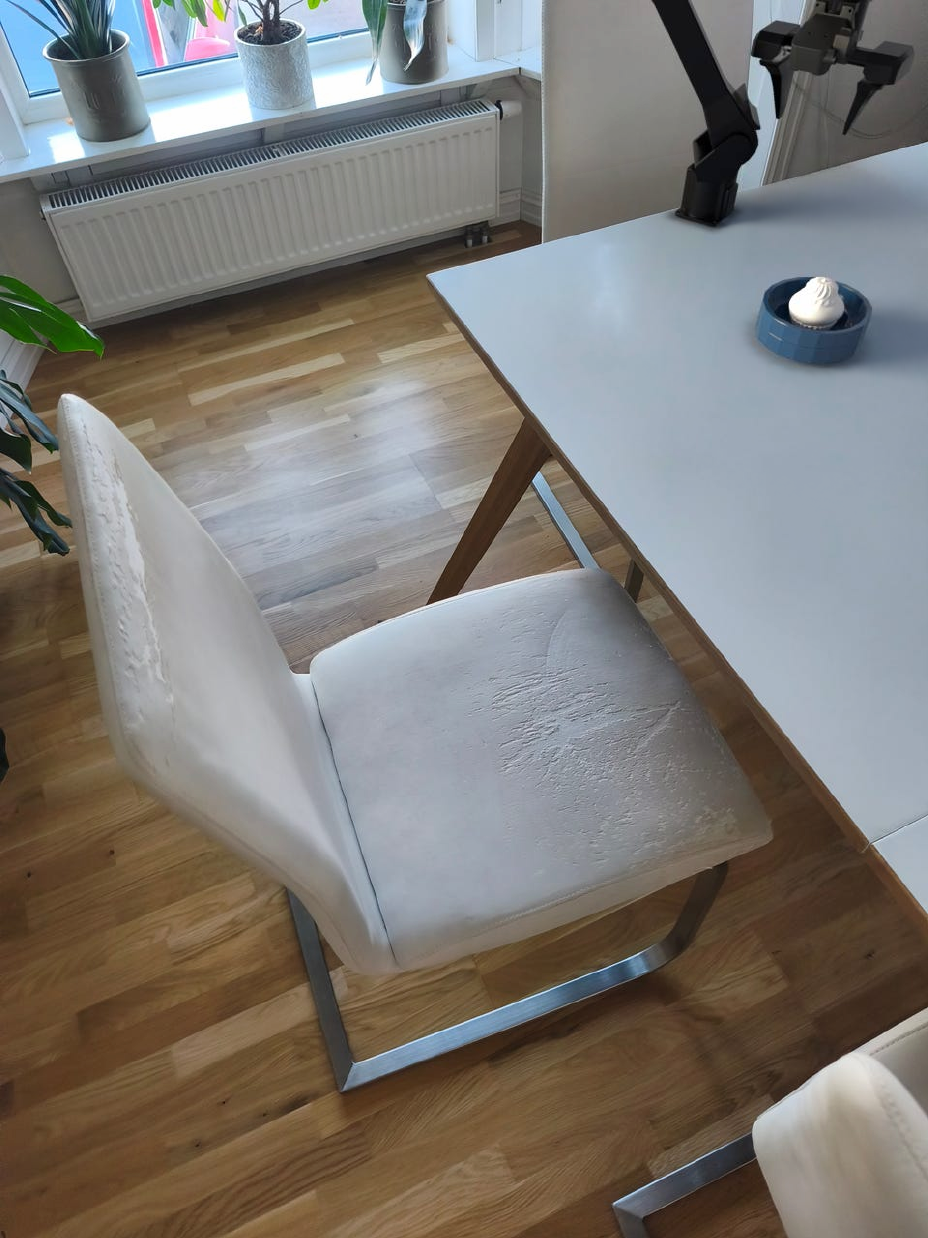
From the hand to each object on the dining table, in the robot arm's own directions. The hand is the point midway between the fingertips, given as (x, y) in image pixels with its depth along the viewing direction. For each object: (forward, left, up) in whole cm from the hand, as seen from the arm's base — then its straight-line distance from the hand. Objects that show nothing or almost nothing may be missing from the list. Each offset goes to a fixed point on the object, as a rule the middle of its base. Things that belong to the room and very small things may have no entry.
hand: (811, 125), depth 112 cm
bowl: (+15, -27, -12) cm, 33 cm away
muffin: (+15, -27, -12) cm, 33 cm away
